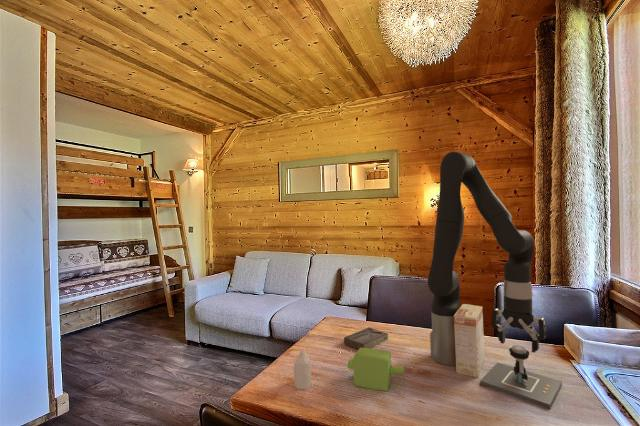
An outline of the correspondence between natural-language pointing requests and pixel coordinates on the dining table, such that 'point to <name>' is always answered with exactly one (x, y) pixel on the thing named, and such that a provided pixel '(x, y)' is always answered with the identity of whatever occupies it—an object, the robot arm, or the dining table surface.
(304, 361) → the squeeze bottle
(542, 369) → the dining table surface
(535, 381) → the socket plate
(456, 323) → the coffeecake box
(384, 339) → the box
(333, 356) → the dining table surface
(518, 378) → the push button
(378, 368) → the gearbox
